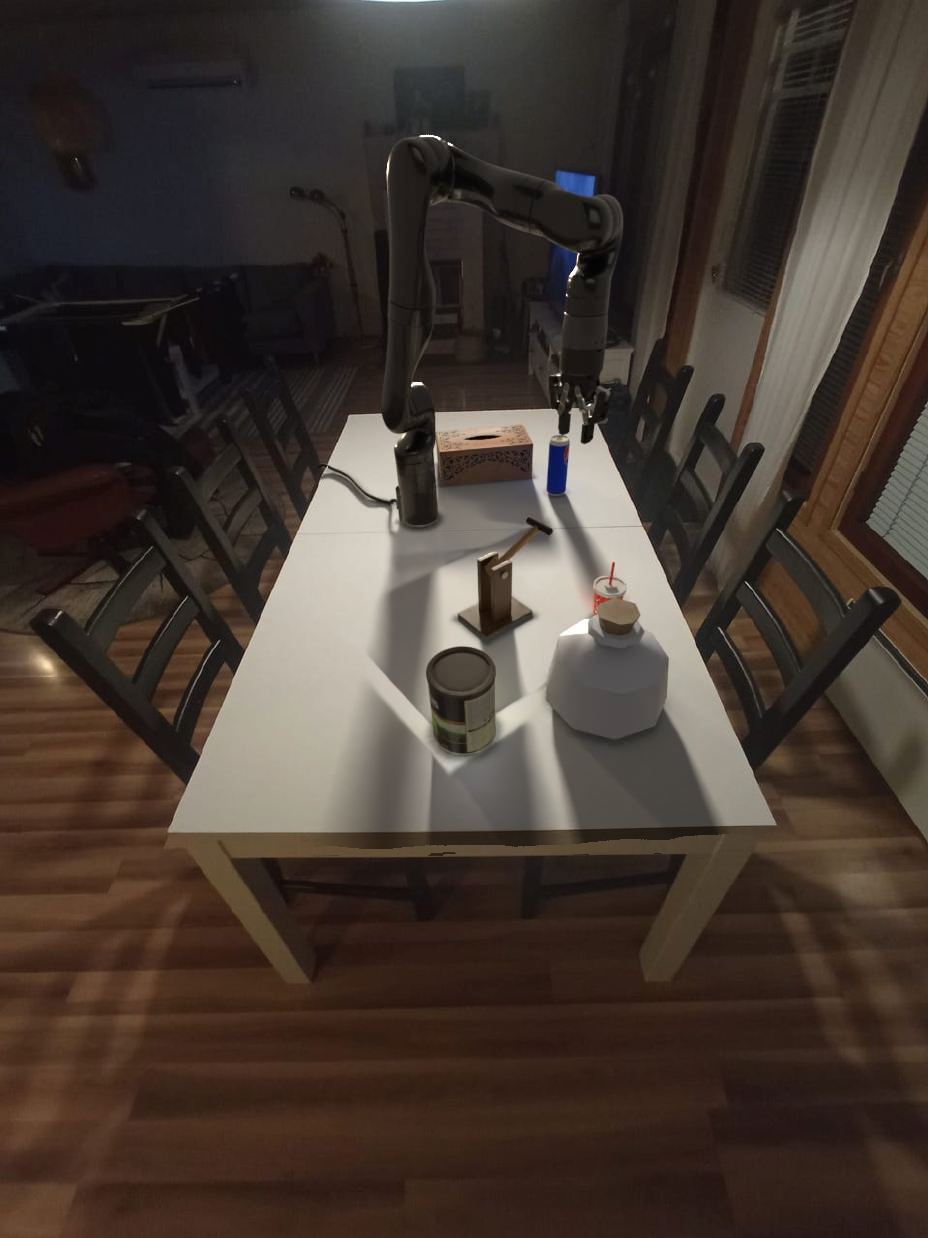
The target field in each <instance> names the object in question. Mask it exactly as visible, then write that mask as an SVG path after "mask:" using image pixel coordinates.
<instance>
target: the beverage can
mask: <svg viewBox="0 0 928 1238" xmlns="http://www.w3.org/2000/svg"><path fill="white" fill-rule="evenodd" d="M549 439H550V440H549V442H548V456H547V461H548V462H547V473H546V475H547V476H546V492H547V494H549V496H550V495H551V496H553V497H559V496H560V497H561V496H562V495H564V494H565V493H566V490H567V482H568V481H567V479H568V467H569V456H570V445H571V444H570V443H571V442H570V437H569V436H567V435H561V434H556V435H553V436H551V437H550V438H549Z"/></svg>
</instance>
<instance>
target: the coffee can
mask: <svg viewBox="0 0 928 1238" xmlns="http://www.w3.org/2000/svg"><path fill="white" fill-rule="evenodd" d="M493 659H494V658H492V657H491V656H490V655H489V654H488V653H487V652H485V651H483V650H481V649H479V648H476V647H473V646H465V645H463V646H461V645H459V646H452V647H448V648H446V649H445V648H444V649H443V650H441V651H439V652H438V653H436V654H435V655H434V656H433V657H432V658H431V659H430V660H429V661H428V663H427V666H426V670H425V677H426V681H427V687H428V696H429V703H430V705H429V706H430V710H431V712H430V714H431V721H432V734H433V739H434V741H435V743H436V745H437V746H438V747H439V748H440V749H441V750H442V751H444V752H445V753H447V754H449V755H451V756H455V757H456V756H457V757H472V756H475V755H479V754H480V753H482V752H484V751H485V750H487V749H488V748H489V747H490V746H491V745H492V743H493V742H494V740H495V738H496V734H497V728H496V727H497V726H496V677H497V666H496V663H495V661H494V660H493Z"/></svg>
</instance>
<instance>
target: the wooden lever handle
mask: <svg viewBox="0 0 928 1238" xmlns="http://www.w3.org/2000/svg"><path fill="white" fill-rule="evenodd" d="M525 524H526V525H528V526H530V527H531V528H530V529H528V530H527V531H526V532H525V533H524V534H523V535H522V537H520V538H519V539H518V540H517V541H516V542H515V543H514V544H513V545H511V547H510V548H509V549H508V550H507V551H505V553H503V555H501V557H499V558H498V559H496V558H495V557H494V558H493V559H492V560H491V561H490V562H489V563H488V564H486V565H485V566H484V568H485V570H486V572H487V574H488V575H489V576H491V568H493V567H495V566H497V565H499V564H501V563H503V562H505V561H508V560H510V561H511V559H512V558H513V557H514V556H515V555H516V554H517V553H518V552H520V550H521V549H522V548H523V547H524V546H525V545H526V544H527V543H528V542H530V541H531V540H532V539H533V538H534V537H535V536H536V535H537V534H539V532H540V533H542V534H544V535H546V536H548V537H550V536H552V534H553V532H554V528H553V527H550V526H549V525H547V524H545V523H543V522H542V521H540V520H538V519H536V518H535V517H532V516H531V515H529V516H527V517H526V519H525Z"/></svg>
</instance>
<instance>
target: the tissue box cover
mask: <svg viewBox="0 0 928 1238" xmlns="http://www.w3.org/2000/svg"><path fill="white" fill-rule="evenodd" d="M435 446H436V458H437V468H438V473H439V479H440V484H441V486H442V487H445V486H447V487H448V486H458V485H467V484H478V483H489V482H490V483H491V482H500V481H509V480H510V481H511V480H522V479H531V478H533V460H534V459H533V458H534V442H533V441H532V438H531V436H530V435H529V433H528V432H527V429H526V428H525V425H524V423H522V424H510V425H509V424H508V425H500V426H499V425H498V426H487V427H486V426H485V427H476V428H474V427H473V428H466V429H451V430H442V431H439V430H438V431H436V442H435Z"/></svg>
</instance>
